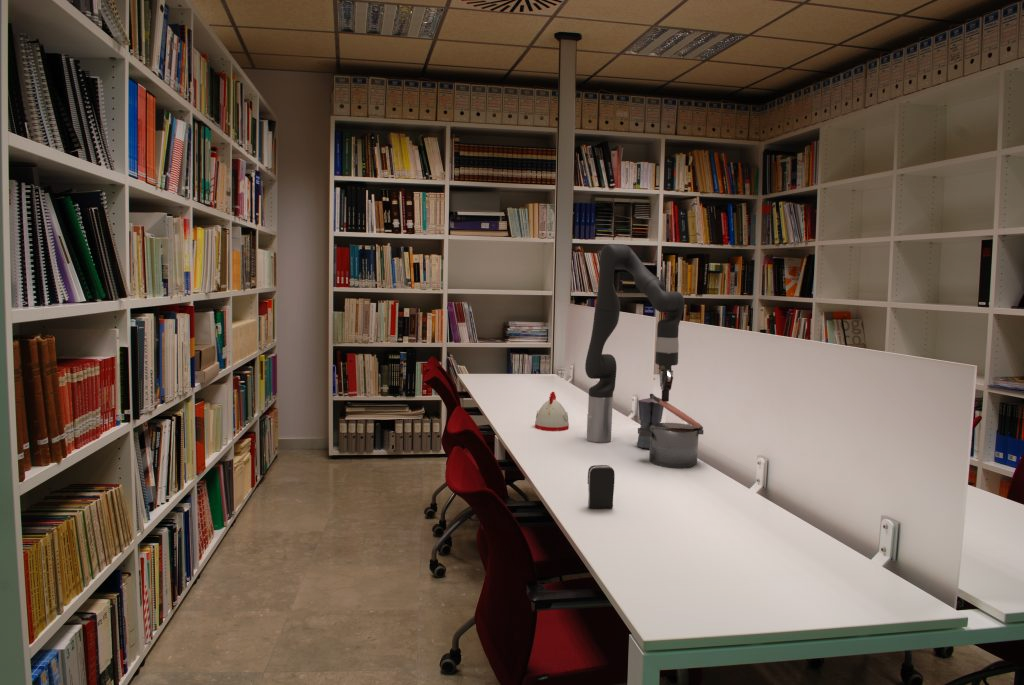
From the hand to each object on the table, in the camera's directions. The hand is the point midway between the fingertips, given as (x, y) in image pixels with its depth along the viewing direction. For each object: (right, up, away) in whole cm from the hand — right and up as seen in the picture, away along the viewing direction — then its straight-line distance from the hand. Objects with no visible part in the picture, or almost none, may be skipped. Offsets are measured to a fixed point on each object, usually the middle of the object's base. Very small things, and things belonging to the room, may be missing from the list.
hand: (665, 401), depth 238 cm
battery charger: (-28, -25, -48) cm, 61 cm away
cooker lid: (+4, -4, 0) cm, 6 cm away
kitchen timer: (-36, -16, +52) cm, 65 cm away
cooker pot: (+2, -21, +2) cm, 21 cm away
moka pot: (-1, -19, +22) cm, 29 cm away
